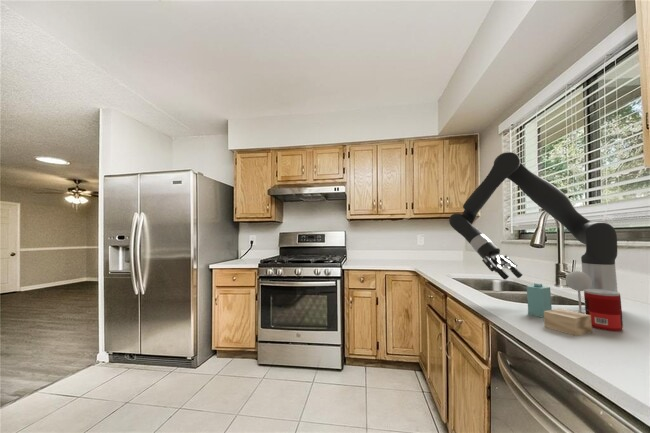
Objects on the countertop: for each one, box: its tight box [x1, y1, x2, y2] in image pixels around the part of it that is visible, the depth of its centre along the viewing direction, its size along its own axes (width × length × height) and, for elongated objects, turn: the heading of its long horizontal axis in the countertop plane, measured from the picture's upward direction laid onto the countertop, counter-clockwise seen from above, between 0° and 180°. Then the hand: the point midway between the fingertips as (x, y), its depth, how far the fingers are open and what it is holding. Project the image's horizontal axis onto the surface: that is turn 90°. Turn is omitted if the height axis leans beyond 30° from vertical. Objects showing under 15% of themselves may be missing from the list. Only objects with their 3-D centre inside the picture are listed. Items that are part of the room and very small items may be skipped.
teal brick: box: [526, 282, 553, 319], centre depth 97 cm, size 5×5×11 cm
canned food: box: [583, 289, 624, 332], centre depth 84 cm, size 8×8×11 cm
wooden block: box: [543, 308, 593, 337], centre depth 82 cm, size 8×8×5 cm
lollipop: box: [565, 270, 592, 314], centre depth 99 cm, size 7×7×15 cm
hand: (513, 277), depth 105 cm, fingers open, 8 cm apart
